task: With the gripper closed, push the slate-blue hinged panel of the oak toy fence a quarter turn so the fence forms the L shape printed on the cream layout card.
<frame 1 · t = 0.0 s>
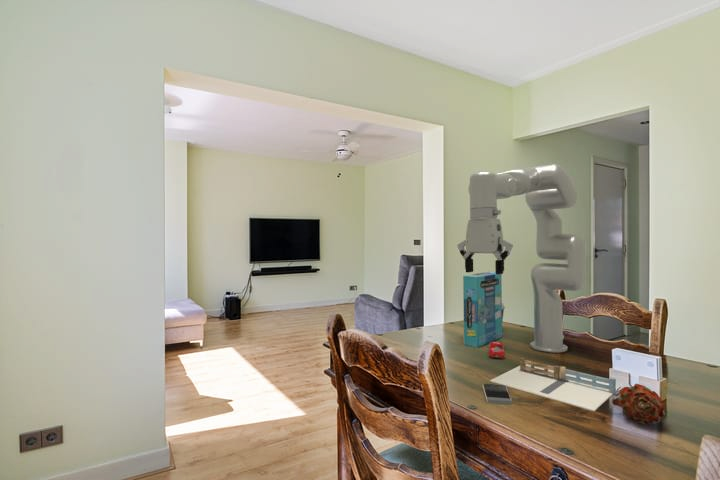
hand: (484, 273, 114), 31 cm above the table, tool pointing down, fingers open, 9 cm apart
fence section: (539, 375, 116), resting on layout card
game box: (483, 341, 155), on the table
dragon fruit: (638, 420, 88), on the table
disposable coffee cup: (493, 331, 173), on the table
layout card: (553, 384, 109), on the table
race car: (496, 355, 138), on the table
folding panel: (586, 378, 107), point 2 cm above the table, hinge at 0.0°
cell phone: (496, 397, 102), on the table
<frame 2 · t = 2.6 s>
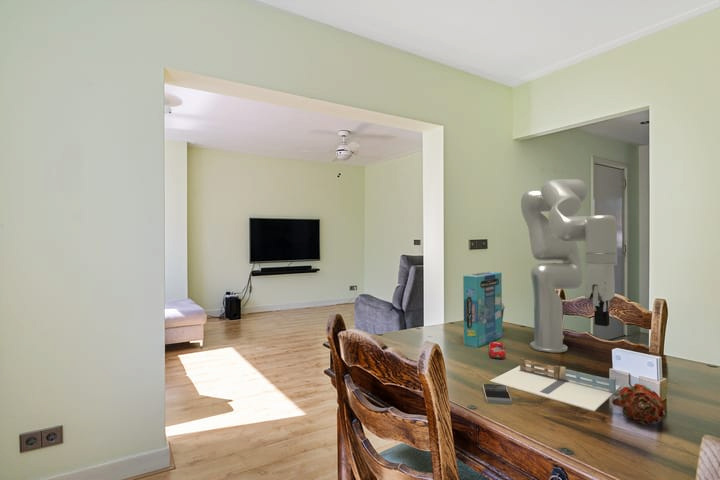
hand: (601, 325, 108), 17 cm above the table, tool pointing down, fingers closed
nothing on the table moved.
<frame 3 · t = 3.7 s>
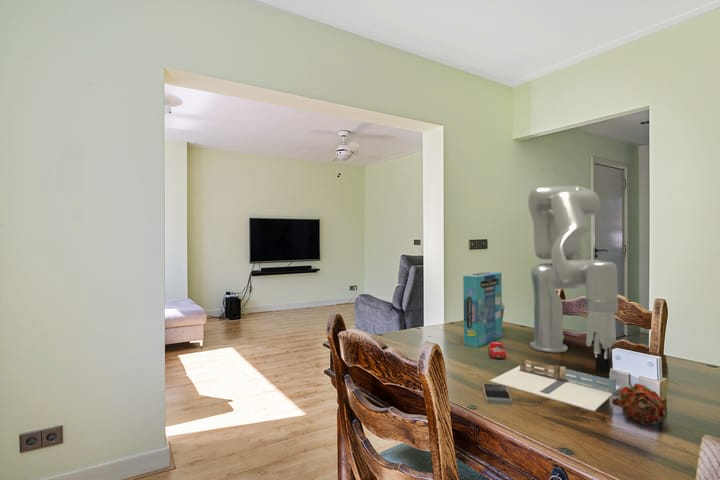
hand: (603, 371, 108), 4 cm above the table, tool pointing down, fingers closed
nothing on the table moved.
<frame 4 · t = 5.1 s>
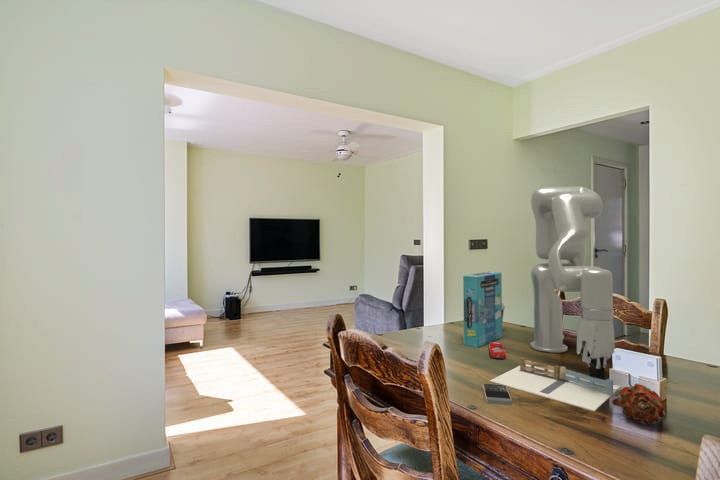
hand: (597, 381, 106), 2 cm above the table, tool pointing down, fingers closed
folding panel: (584, 379, 106), point 2 cm above the table, hinge at 8.8°, touching gripper
everything else where it was.
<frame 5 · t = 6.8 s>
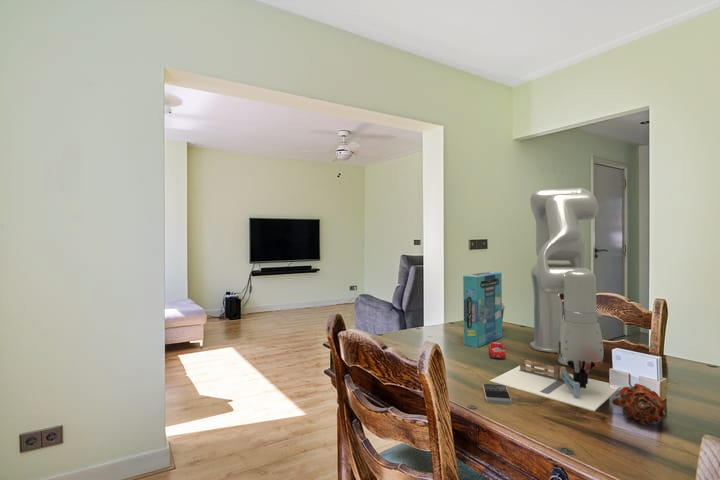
hand: (580, 386, 103), 2 cm above the table, tool pointing down, fingers closed
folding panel: (569, 380, 105), point 2 cm above the table, hinge at 55.4°, touching gripper
everything else where it was.
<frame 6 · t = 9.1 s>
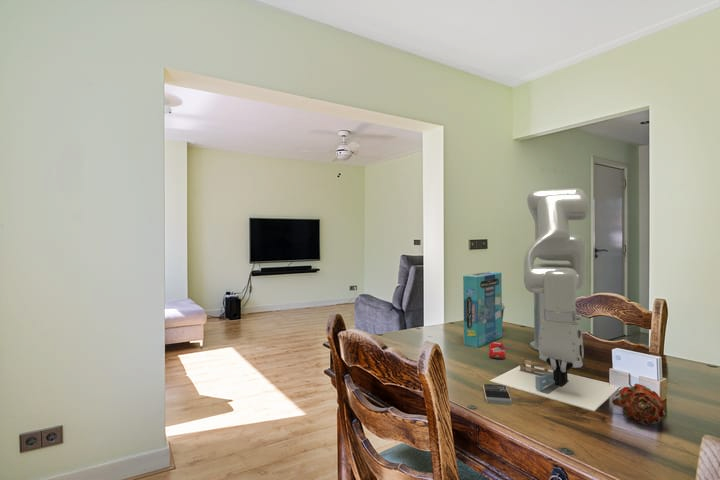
hand: (560, 384, 104), 2 cm above the table, tool pointing down, fingers closed
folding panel: (551, 377, 108), point 2 cm above the table, hinge at 97.7°
everything else where it was.
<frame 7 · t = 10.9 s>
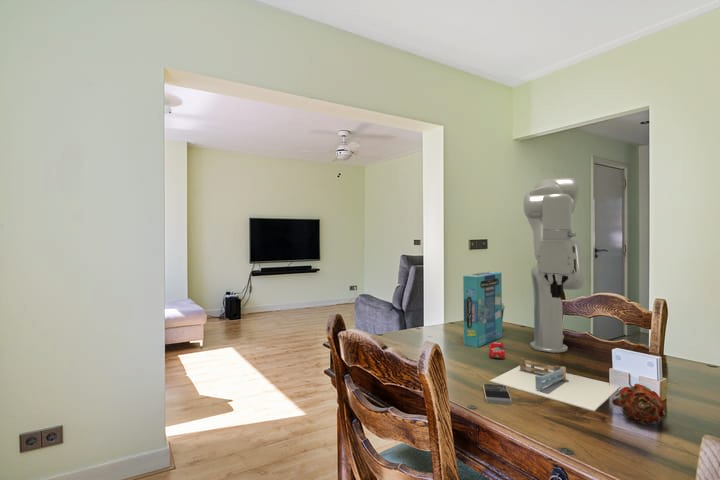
hand: (556, 297, 116), 24 cm above the table, tool pointing down, fingers closed
nothing on the table moved.
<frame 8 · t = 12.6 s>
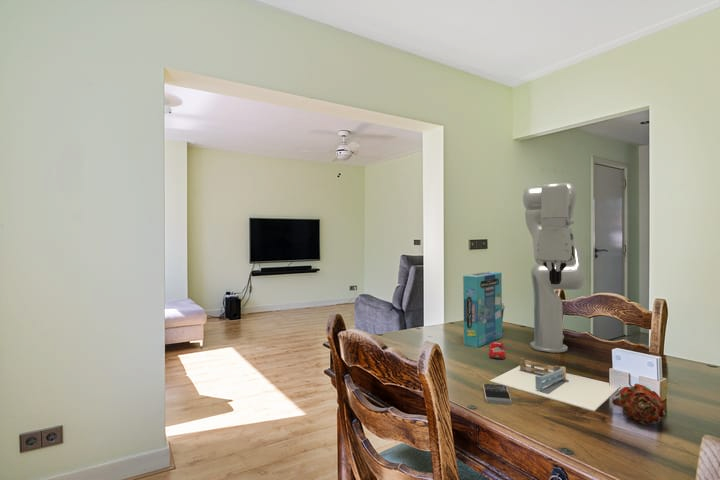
hand: (555, 283, 119), 27 cm above the table, tool pointing down, fingers closed
nothing on the table moved.
at the end: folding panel at +98° (first picture: +0°); dragon fruit moved 0.3 cm from its start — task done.
